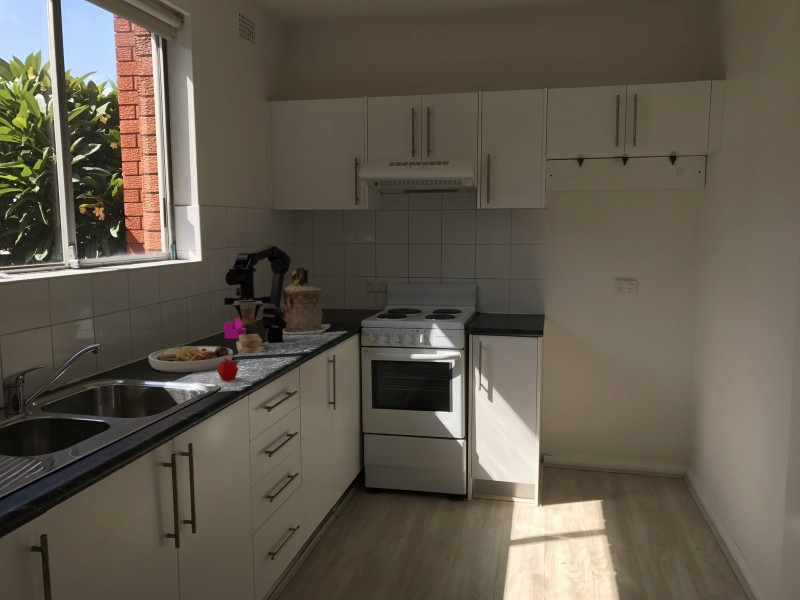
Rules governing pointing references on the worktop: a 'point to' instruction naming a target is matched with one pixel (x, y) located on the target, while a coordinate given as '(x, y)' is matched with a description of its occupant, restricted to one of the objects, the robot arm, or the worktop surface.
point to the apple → (227, 370)
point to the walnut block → (248, 316)
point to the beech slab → (249, 349)
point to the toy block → (234, 329)
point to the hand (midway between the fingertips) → (248, 320)
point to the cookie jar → (302, 306)
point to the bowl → (189, 358)
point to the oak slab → (250, 341)
